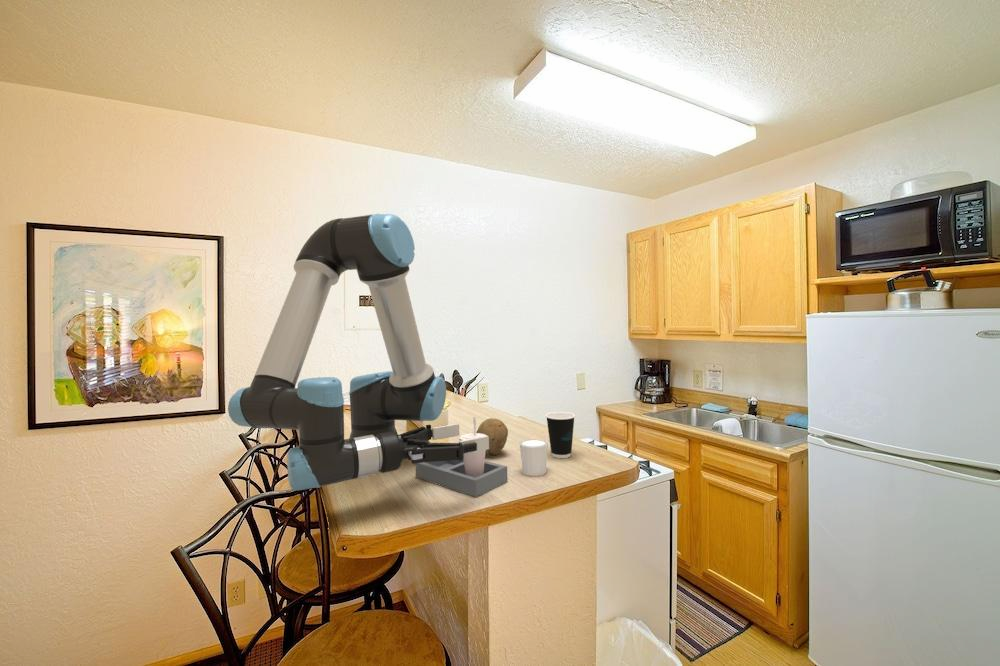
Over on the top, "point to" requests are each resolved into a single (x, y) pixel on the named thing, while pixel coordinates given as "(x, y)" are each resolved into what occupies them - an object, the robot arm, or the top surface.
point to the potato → (494, 434)
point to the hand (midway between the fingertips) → (472, 435)
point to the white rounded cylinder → (534, 457)
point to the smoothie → (474, 456)
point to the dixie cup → (560, 433)
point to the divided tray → (462, 476)
